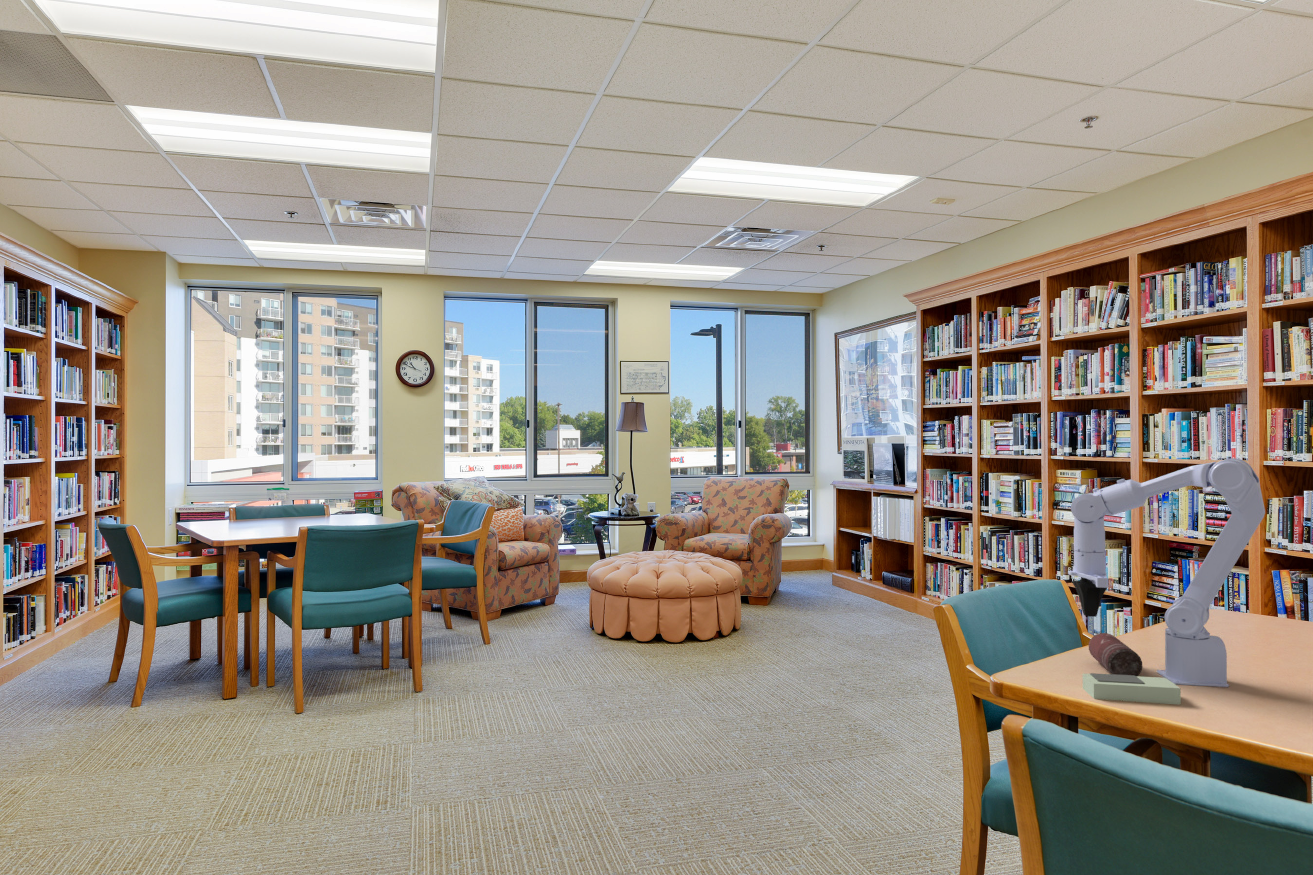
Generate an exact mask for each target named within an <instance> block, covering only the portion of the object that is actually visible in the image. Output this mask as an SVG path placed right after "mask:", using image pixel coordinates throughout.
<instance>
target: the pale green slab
mask: <svg viewBox="0 0 1313 875" xmlns="http://www.w3.org/2000/svg"><path fill="white" fill-rule="evenodd" d="M1082 690H1084V691H1085V693H1087V694H1088V695H1089V696H1090V697H1091V698H1093V699H1094V700H1104V699H1105V700H1104V701H1106V700H1108V701H1119V700H1121V701H1122V700H1123V702H1134V703H1136V702H1137V703H1150V704H1151V703H1152V704H1165V705H1182V704H1181V702H1182V700H1181V696H1182V694H1181V693H1182V692H1181V690H1182V689H1181V687H1179V686H1178V684H1174V683H1172V682H1171V681H1169V680H1168V679H1167V678H1164V677H1158V676H1157V677H1155V676H1153V677H1152V676H1140V675H1138V676H1135V675H1116V674H1111V673H1094V672H1091V673H1090V672H1089V673H1082ZM1135 701H1136V702H1135Z"/></svg>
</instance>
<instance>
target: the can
mask: <svg viewBox="0 0 1313 875" xmlns="http://www.w3.org/2000/svg"><path fill="white" fill-rule="evenodd" d="M1088 650H1089V651H1088V652H1089V653H1090V655H1091V657H1092V658H1094V660H1096V662H1098V663H1099V664H1100V665H1101V666H1102V667H1103V668H1105V669H1106V671H1107V672H1109V674H1116V675H1135V676H1140V674H1141V673H1142V671H1143V660H1142V658H1141V656H1139V654H1138V653H1137V652H1136V651H1134V650H1133V649H1131V648H1130V647H1129V646H1128V645H1127V644H1125V643H1124V642H1122V641H1121V640H1120V639H1118V638H1117V637H1116V636H1115V635H1112V634H1111V633H1108V632H1100V633H1097V634H1094V635H1093V636H1092V637H1091V638H1090V640H1089V642H1088Z"/></svg>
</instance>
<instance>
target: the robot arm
mask: <svg viewBox="0 0 1313 875" xmlns="http://www.w3.org/2000/svg"><path fill="white" fill-rule="evenodd" d="M1192 486H1193V487H1199V488H1206V489H1208V488H1209V487H1211V486H1212V488H1214V489H1215V491H1216V492H1218V493H1219V494H1220V495H1221V496H1222V497H1223V498H1224V501H1225V502H1226V505H1227V506H1228V508H1229V510H1230V513H1231V514H1230V516H1229V518H1228V520H1227V521H1226V523H1225V525H1224V527H1223V528H1222V530H1221V531H1220V533H1219V535H1218V537H1217V538H1216V540H1215V542H1214V543H1213V545H1212V547H1211V548H1210V550H1209V551H1208V552H1207V555H1206V557H1204V559H1203V562H1202V563H1201V565H1200V566H1199V568H1198V569H1197V572H1196V574H1195V575H1194V576H1193V578H1192V580H1191V582H1190V583H1189V584H1188V587H1187V588H1186V590H1185V592H1184V593H1183V594H1182V596H1180V597H1179V598H1177V599H1175V600H1173V603H1172V604H1171V606H1169V607H1168V608H1167V610H1166V611H1165V613H1164V621H1165V622H1164V624H1165V625H1166V627H1167V628H1166V627H1165V629H1164V631H1165V632H1164V641H1165V642H1164V643H1165V644H1164V651H1165V653H1164V654H1165V655H1164V656H1165V657H1164V659H1165V660H1164V662H1165V663H1164V664H1165V665H1164V666H1165V667H1164V668H1165V670H1164V669H1157V670H1156V673H1157V674H1159V675H1160V676H1161V677H1162V678H1167V679H1168V680H1169V681H1171V682H1172V683H1174V684H1175V685H1177V686H1178V685H1179V686H1180V685H1181V686H1198V687H1220V688H1229V685H1230V684H1229V683H1228V682H1227V680H1228V677H1227V676H1228V670H1227V668H1228V667H1227V666H1228V664H1227V663H1228V661H1227V660H1228V659H1227V658H1228V656H1227V648H1226V645H1225V643H1224V640H1223V639H1222V638H1221V637H1220V636H1217V635H1211V633H1210V631H1208V630H1207V629H1206V627H1205V625H1206V624H1207V623H1208V620H1209V618H1210V606H1211V605H1212V603H1213V601H1214V599H1215V598H1216V596H1217V595H1218V592H1219V591H1220V589H1221V587H1222V586H1223V584H1224V583H1225V581H1226V580H1227V578H1228V576H1229V575H1230V573H1231V572H1232V570H1233V568H1234V566H1235V564H1237V562H1238V560H1239V558H1240V556H1241V555H1242V554H1243V551H1244V550H1245V548H1246V547H1247V545H1248V543H1249V542H1250V540H1251V539H1252V537H1253V536H1254V534H1255V532H1256V531H1257V529H1258V527H1259V526H1260V524H1261V523H1262V520H1263V519H1264V517H1265V514H1266V508H1265V505H1264V498H1263V494H1262V489H1261V482H1260V477H1259V476H1258V475H1257V473H1256V472H1255V470H1254V469H1253V467H1252V466H1251V464H1249V463H1248V462H1247V461H1245V460H1243V459H1241V458H1234V457H1233V458H1225V459H1223V460H1219V461H1218V462H1217V461H1212V462H1207V463H1201V464H1196V465H1191V466H1187V467H1184V468H1182V469H1178V470H1176V471H1173V472H1170V473H1167V474H1164V475H1161V476H1159V477H1156V478H1152V479H1149V480H1147V481H1144V482H1139V481H1136V480H1134V479H1131V478H1130V479H1127V480H1126V479H1125V478H1121V479H1118V480H1116V483H1115V484H1112V485H1109V486H1105V487H1103V488H1099V487H1095V488H1093V489H1092V492H1089V493H1082V494H1080V495H1078V496H1076V497H1075V498H1074V499H1073V500H1072V502H1071V505H1070V511H1071V514H1072V516H1073V517H1074V520H1073V522H1074V527H1073V565H1072V570H1068V571H1067V575H1068V576H1075V577H1078V578H1080V579H1079V580H1072V582H1071V583H1072V585H1073V586H1074V589H1075V590H1076V593H1077V596H1078V598H1079V601H1080V607H1081V609H1082V610H1081V611H1082V613H1083V616H1085V617H1091V618H1092V617H1096V618H1097V616H1098V613H1099V609H1100V604H1101V601H1102V598H1103V596H1104V594H1105V593H1106V591H1107V590H1108V588H1109V578H1108V577H1107V575H1108V574H1107V572H1106V529H1105V516H1114V515H1118V514H1121V513H1124V512H1127V511H1130V510H1134V509H1137V508H1138V509H1139V508H1141V507H1144V505H1145V503H1146V501H1147V499H1148V498H1151V497H1153V496H1157V495H1161V494H1164V493H1167V492H1171V491H1175V490H1179V489H1182V488H1186V487H1192Z"/></svg>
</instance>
